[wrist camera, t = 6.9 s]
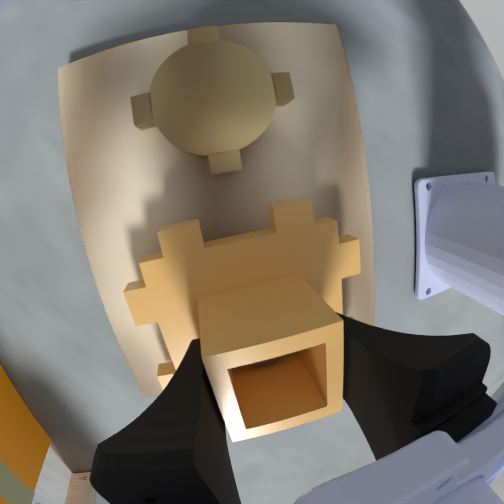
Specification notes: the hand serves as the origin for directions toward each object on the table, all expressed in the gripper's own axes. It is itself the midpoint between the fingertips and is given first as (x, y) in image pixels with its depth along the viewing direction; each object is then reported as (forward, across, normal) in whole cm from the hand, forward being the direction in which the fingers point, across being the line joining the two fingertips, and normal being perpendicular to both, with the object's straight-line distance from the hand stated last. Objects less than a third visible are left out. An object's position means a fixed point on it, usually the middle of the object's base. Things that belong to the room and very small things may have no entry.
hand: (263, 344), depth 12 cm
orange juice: (+4, +22, +5) cm, 23 cm away
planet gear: (+2, 0, 0) cm, 2 cm away
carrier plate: (+4, 0, -5) cm, 6 cm away
